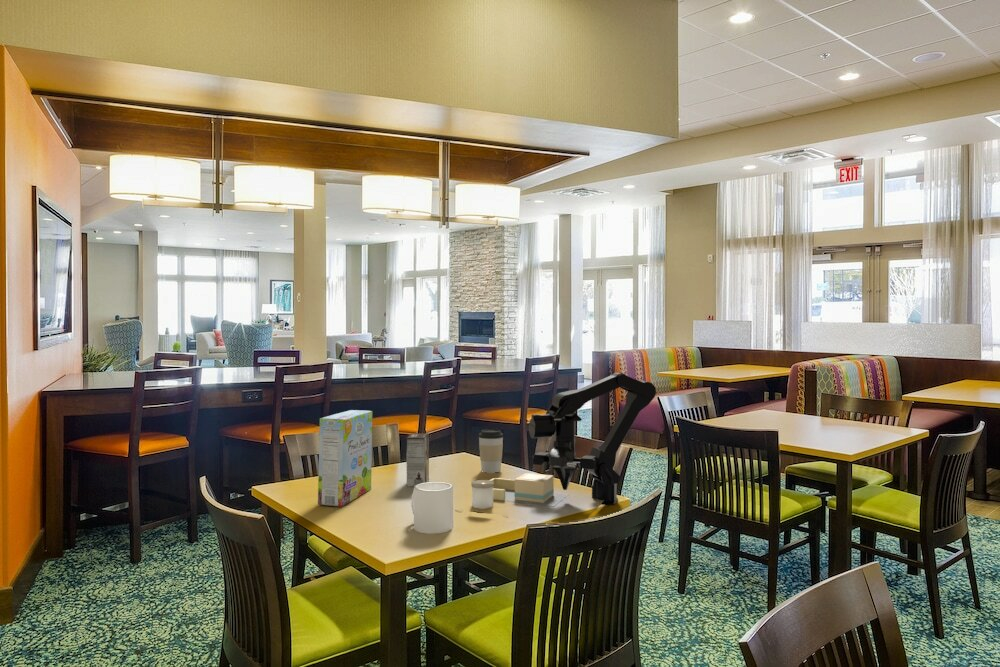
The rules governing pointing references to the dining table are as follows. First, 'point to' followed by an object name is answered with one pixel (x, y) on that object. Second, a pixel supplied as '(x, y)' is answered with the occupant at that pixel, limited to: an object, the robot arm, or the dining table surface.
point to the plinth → (506, 490)
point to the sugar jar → (482, 494)
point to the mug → (433, 507)
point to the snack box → (344, 457)
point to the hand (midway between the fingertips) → (565, 489)
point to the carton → (534, 487)
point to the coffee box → (417, 458)
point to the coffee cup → (491, 450)
